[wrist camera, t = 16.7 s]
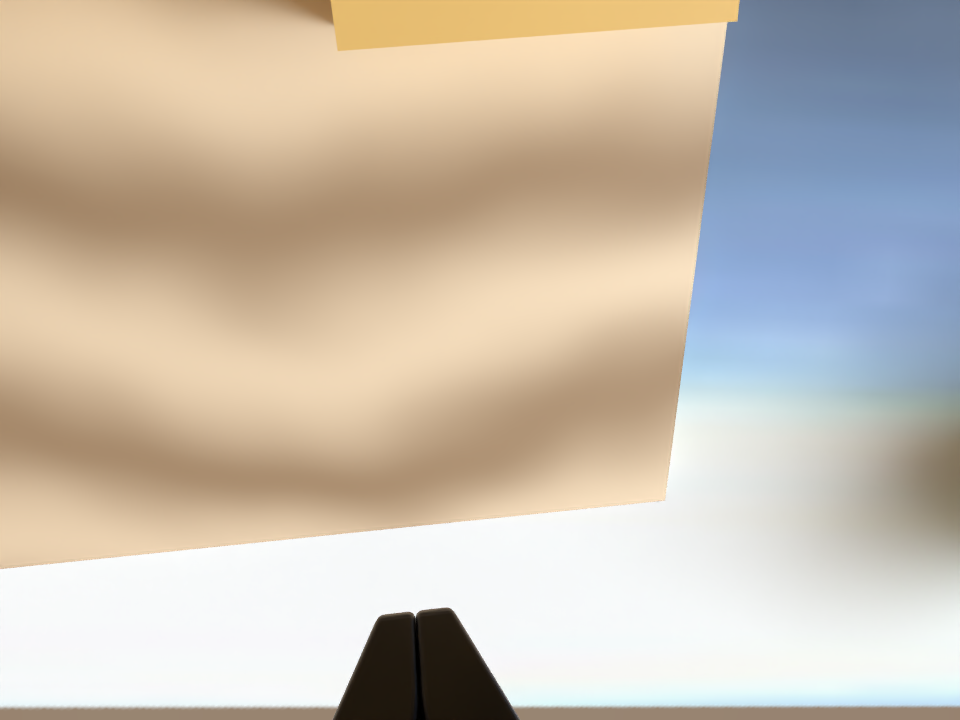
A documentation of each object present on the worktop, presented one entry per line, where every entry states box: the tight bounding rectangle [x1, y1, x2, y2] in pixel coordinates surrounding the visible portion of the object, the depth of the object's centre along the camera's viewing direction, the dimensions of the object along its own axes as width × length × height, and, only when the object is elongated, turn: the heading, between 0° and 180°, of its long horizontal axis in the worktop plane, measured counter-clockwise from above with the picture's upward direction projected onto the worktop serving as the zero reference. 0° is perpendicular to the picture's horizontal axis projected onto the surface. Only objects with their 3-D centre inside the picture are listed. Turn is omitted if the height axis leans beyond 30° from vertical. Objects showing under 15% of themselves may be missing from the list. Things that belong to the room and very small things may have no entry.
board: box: [0, 0, 727, 569], centre depth 17 cm, size 21×25×1 cm
